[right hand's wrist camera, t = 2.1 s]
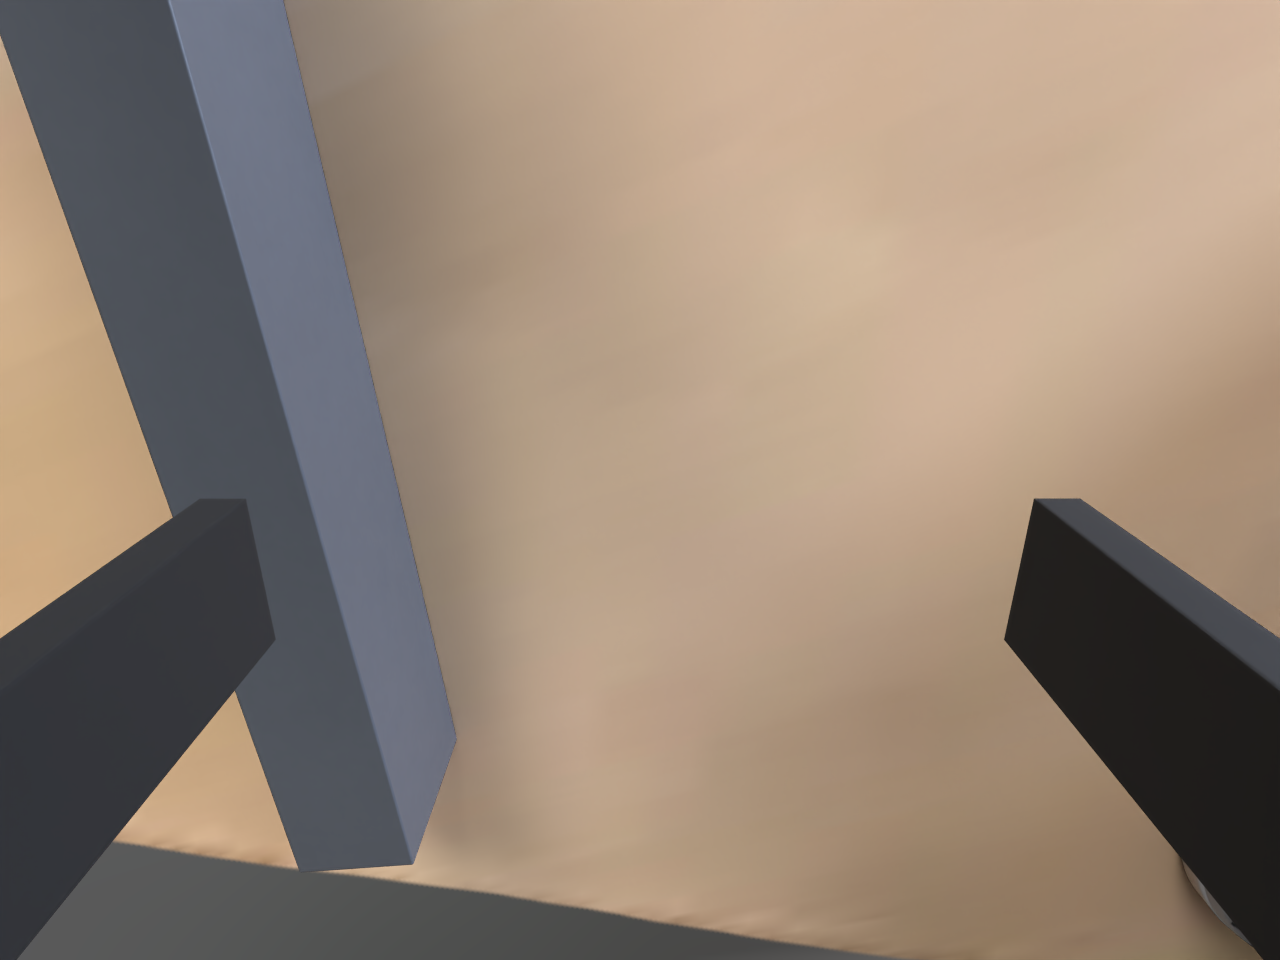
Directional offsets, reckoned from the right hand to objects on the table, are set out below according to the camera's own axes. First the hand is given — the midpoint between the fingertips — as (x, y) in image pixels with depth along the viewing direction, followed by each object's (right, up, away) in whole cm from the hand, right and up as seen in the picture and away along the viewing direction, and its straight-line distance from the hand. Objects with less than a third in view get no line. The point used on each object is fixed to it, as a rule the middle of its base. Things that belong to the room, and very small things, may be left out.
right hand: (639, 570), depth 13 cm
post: (-14, +13, +15) cm, 24 cm away
